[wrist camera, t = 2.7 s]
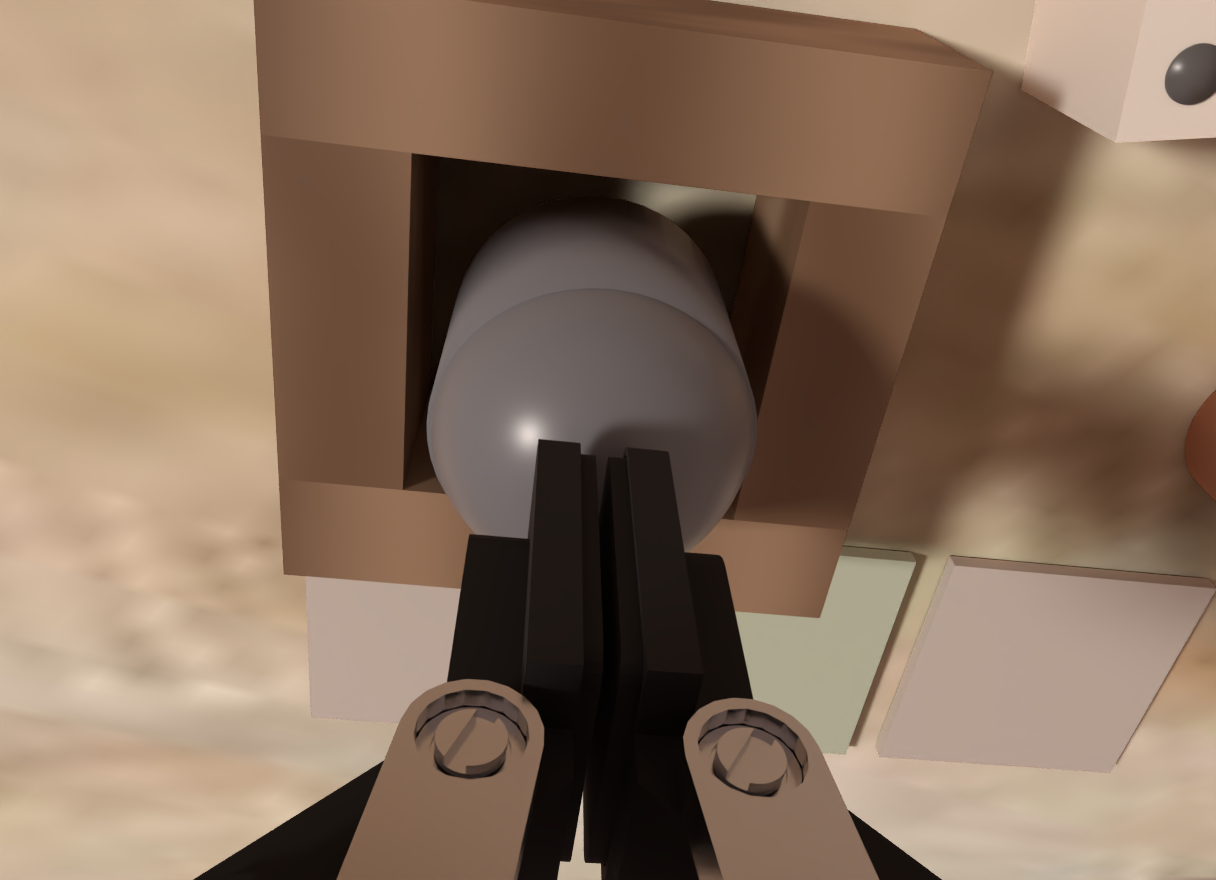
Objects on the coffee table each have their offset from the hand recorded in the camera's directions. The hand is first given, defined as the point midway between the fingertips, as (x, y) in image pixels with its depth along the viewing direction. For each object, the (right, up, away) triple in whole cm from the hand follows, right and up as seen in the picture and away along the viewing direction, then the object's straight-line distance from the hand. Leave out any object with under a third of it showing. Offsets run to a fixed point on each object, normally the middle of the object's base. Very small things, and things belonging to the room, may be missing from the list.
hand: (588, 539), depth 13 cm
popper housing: (0, +5, +8) cm, 9 cm away
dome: (0, +3, +6) cm, 6 cm away
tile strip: (+4, -4, +14) cm, 15 cm away
